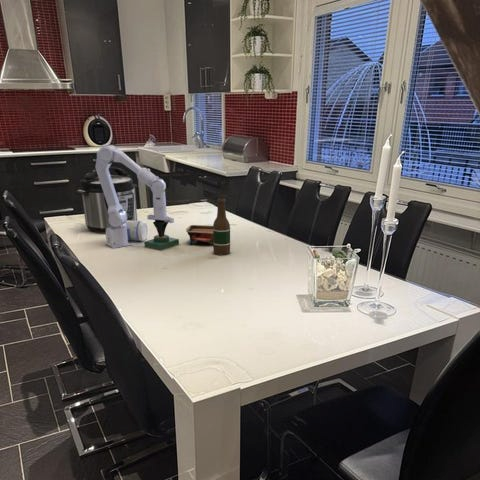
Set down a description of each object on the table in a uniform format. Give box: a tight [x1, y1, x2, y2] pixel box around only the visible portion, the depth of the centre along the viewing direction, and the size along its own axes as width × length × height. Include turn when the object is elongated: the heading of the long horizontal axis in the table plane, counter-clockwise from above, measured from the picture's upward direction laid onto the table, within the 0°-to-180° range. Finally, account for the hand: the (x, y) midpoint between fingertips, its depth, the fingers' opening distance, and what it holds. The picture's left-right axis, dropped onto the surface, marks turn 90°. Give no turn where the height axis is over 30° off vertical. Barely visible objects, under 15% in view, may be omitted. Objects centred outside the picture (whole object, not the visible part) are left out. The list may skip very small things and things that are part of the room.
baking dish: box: [185, 224, 213, 246], centre depth 224 cm, size 14×18×10 cm
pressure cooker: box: [76, 166, 138, 234], centre depth 243 cm, size 30×28×32 cm
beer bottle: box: [212, 197, 231, 256], centre depth 205 cm, size 8×8×24 cm
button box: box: [143, 234, 180, 251], centre depth 219 cm, size 13×10×4 cm
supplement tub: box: [125, 220, 149, 242], centre depth 227 cm, size 10×10×15 cm
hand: (161, 236), depth 218 cm, fingers closed, pressing on button
